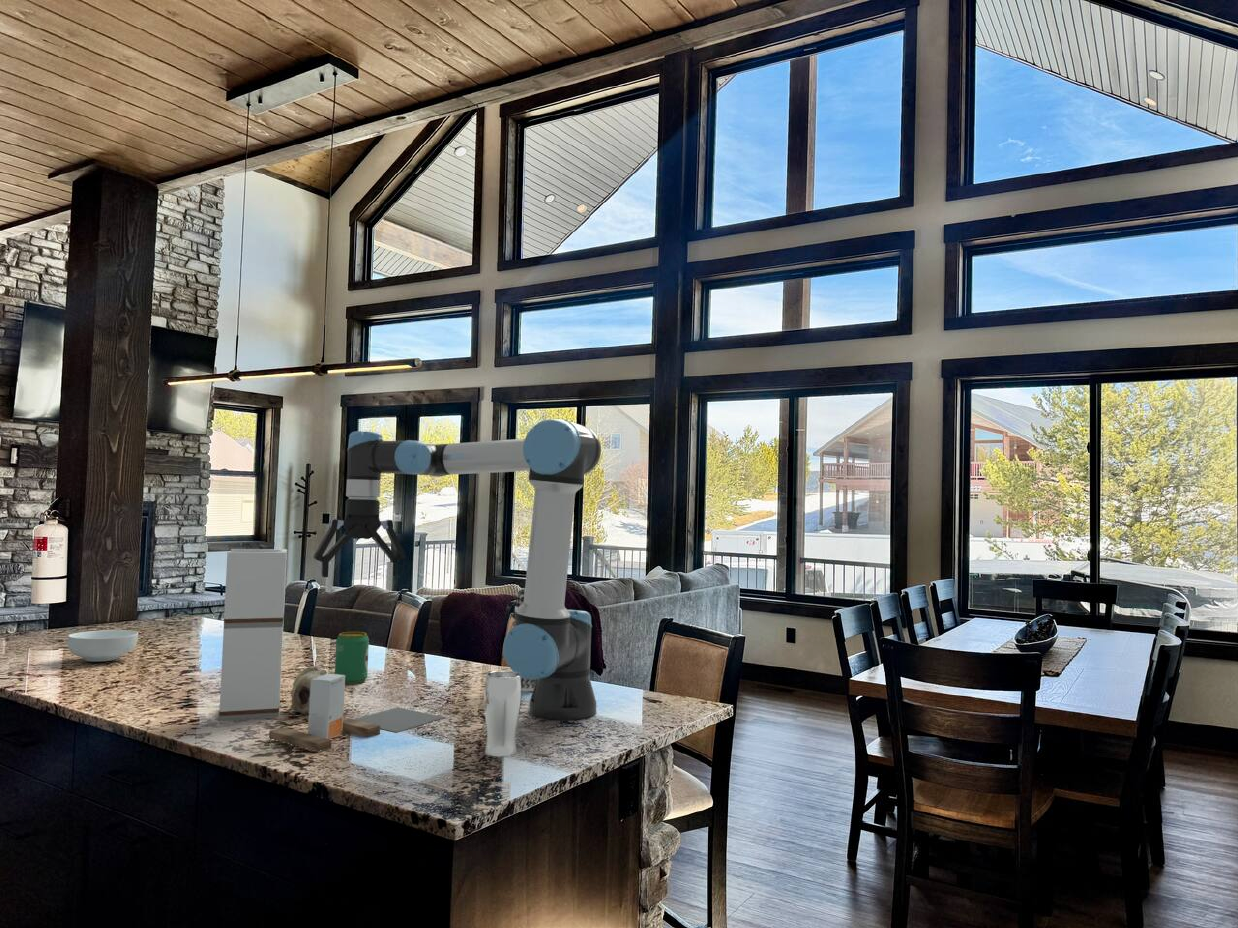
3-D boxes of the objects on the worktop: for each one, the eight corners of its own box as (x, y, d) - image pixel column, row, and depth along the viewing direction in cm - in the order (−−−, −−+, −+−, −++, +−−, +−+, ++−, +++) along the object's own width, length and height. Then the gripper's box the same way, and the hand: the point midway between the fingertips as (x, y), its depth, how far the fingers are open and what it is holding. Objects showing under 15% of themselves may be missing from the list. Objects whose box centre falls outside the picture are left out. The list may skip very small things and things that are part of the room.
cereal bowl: (149, 658, 231) (150, 633, 231) (85, 667, 217) (86, 640, 217) (117, 651, 240) (118, 626, 240) (54, 659, 226) (55, 633, 226)
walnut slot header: (379, 735, 163) (380, 725, 164) (317, 754, 151) (318, 743, 151) (332, 724, 171) (332, 714, 171) (268, 741, 158) (269, 730, 158)
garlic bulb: (290, 708, 182) (292, 662, 183) (330, 706, 185) (332, 661, 186) (289, 719, 173) (291, 671, 174) (331, 716, 176) (333, 669, 177)
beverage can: (368, 683, 208) (370, 635, 209) (335, 685, 205) (337, 636, 206) (365, 676, 215) (367, 630, 216) (333, 678, 213) (335, 631, 213)
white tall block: (279, 705, 184) (287, 549, 186) (278, 717, 174) (286, 552, 176) (223, 709, 180) (231, 548, 182) (218, 721, 170) (227, 552, 172)
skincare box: (326, 743, 157) (329, 680, 158) (306, 741, 158) (309, 679, 159) (343, 735, 163) (346, 674, 164) (324, 733, 164) (326, 672, 165)
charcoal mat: (444, 719, 177) (444, 717, 177) (396, 734, 165) (396, 731, 165) (397, 709, 184) (397, 707, 184) (348, 723, 172) (348, 720, 172)
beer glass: (520, 749, 157) (523, 670, 158) (517, 761, 150) (520, 678, 151) (484, 748, 157) (487, 669, 158) (479, 760, 150) (482, 677, 151)
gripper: (411, 499, 199) (408, 587, 198) (303, 496, 187) (298, 590, 186) (420, 500, 193) (417, 590, 192) (309, 497, 180) (304, 594, 179)
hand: (359, 591), depth 189 cm, fingers open, 13 cm apart
